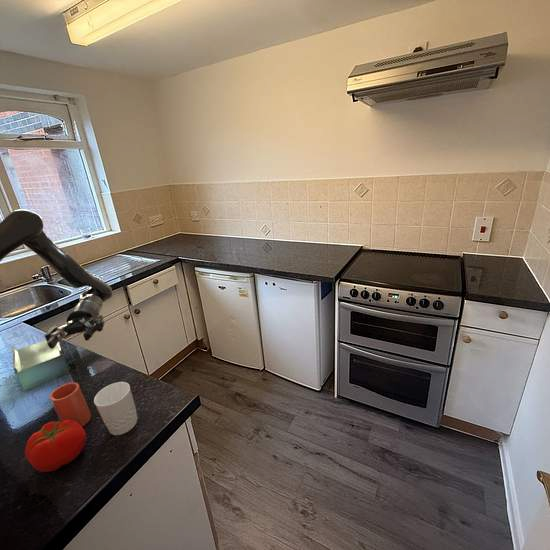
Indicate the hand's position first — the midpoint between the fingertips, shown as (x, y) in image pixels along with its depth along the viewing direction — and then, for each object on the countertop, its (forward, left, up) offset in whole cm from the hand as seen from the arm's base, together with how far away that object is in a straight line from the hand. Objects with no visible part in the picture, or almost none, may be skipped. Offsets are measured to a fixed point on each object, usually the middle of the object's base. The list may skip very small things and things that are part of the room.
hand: (68, 341), depth 81 cm
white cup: (+12, -17, -18) cm, 27 cm away
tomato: (0, -22, -18) cm, 28 cm away
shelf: (-18, +19, -18) cm, 31 cm away
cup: (0, -11, -18) cm, 21 cm away
